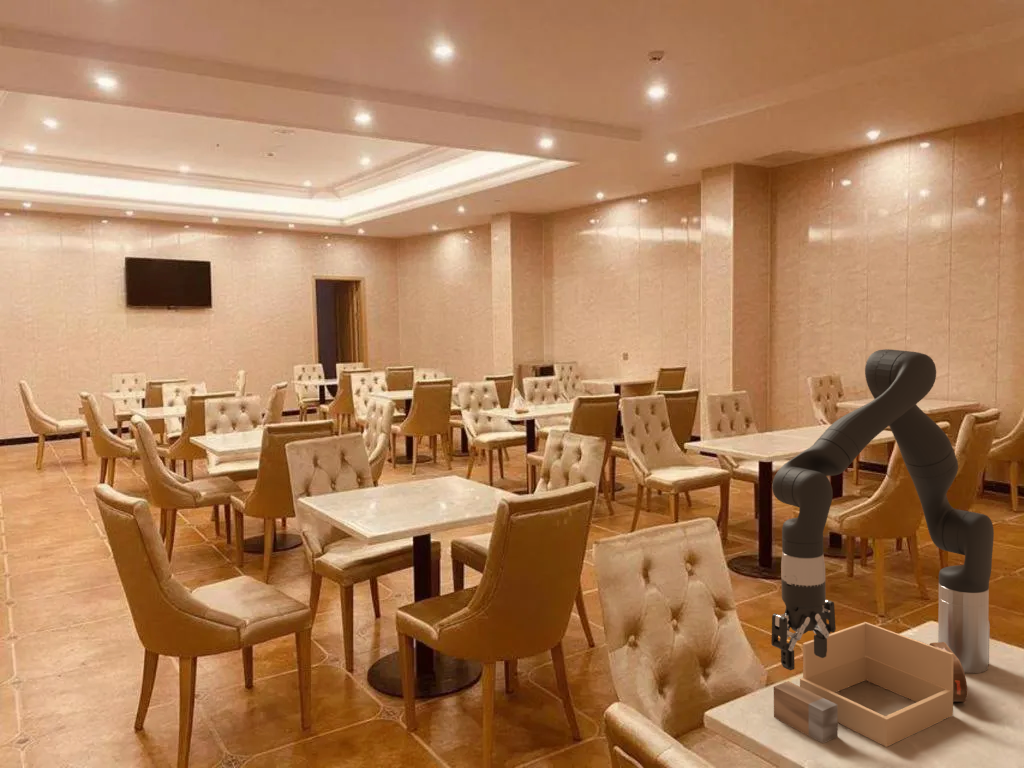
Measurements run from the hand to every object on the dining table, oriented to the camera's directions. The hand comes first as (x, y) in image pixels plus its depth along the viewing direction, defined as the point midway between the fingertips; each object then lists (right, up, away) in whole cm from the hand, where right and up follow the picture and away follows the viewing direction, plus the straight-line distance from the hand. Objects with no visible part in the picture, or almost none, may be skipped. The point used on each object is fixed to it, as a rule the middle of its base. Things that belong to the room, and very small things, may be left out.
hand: (804, 662), depth 143 cm
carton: (+16, -11, +6) cm, 20 cm away
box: (0, -12, +1) cm, 12 cm away
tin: (+33, -10, +12) cm, 37 cm away
